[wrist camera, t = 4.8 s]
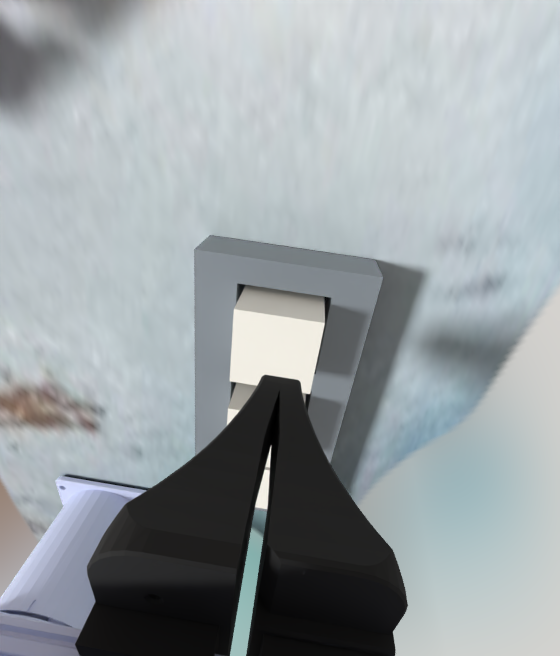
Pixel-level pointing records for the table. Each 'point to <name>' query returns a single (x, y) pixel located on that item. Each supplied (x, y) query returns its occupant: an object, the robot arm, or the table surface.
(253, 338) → the button
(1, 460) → the table surface
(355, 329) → the button board
